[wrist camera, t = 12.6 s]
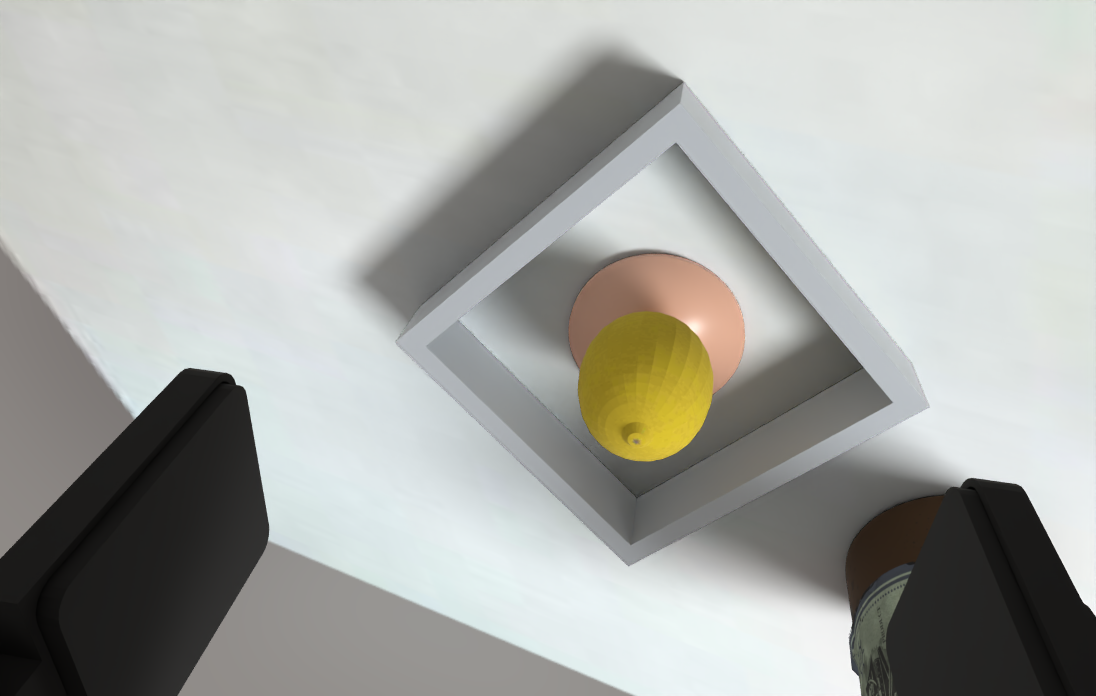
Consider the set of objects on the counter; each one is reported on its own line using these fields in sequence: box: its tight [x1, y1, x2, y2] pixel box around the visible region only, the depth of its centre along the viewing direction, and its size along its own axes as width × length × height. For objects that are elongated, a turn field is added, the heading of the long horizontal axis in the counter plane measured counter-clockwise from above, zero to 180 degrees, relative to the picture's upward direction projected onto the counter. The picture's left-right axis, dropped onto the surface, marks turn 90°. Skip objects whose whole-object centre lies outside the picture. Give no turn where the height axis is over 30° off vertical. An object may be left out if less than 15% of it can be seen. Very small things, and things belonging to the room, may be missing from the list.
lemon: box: [578, 311, 713, 461], centre depth 33 cm, size 6×6×8 cm
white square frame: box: [395, 82, 929, 566], centre depth 36 cm, size 16×16×4 cm
